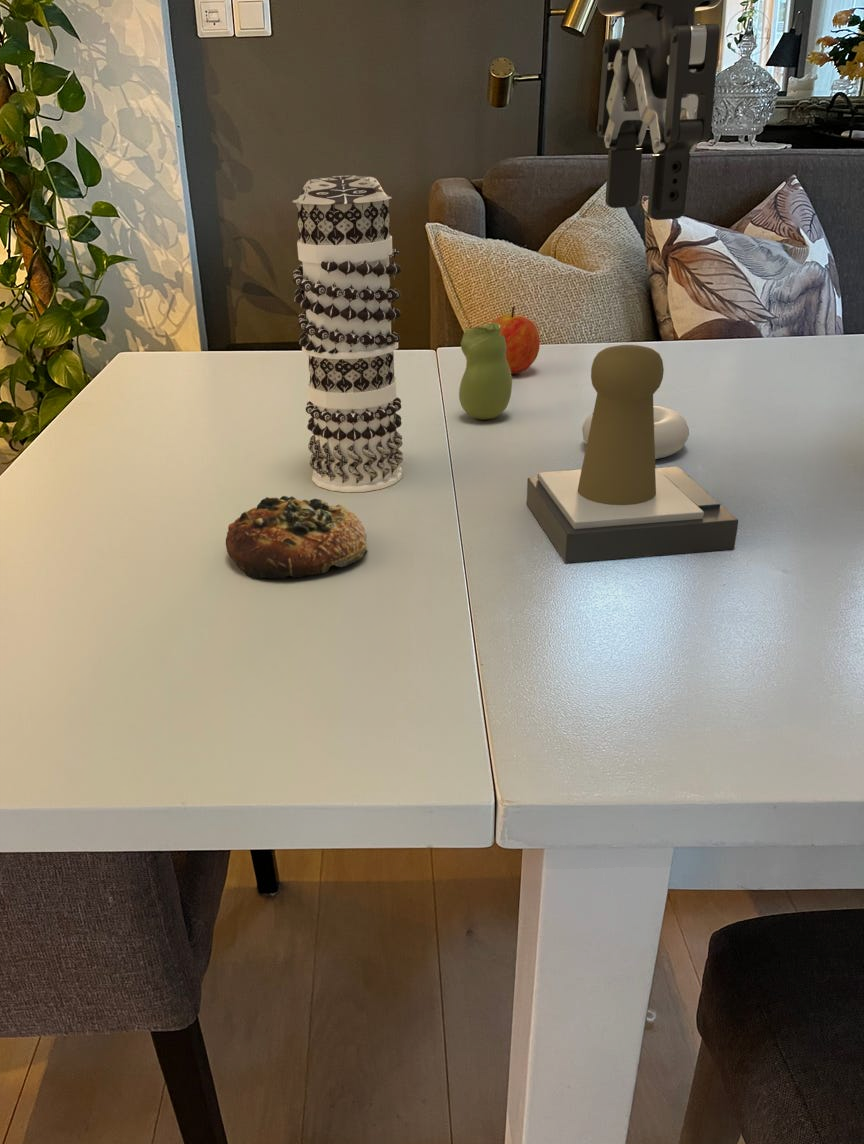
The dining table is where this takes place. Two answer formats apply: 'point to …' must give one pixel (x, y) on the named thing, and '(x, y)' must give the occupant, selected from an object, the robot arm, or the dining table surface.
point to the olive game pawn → (622, 427)
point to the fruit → (519, 341)
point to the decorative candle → (349, 332)
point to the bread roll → (294, 538)
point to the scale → (630, 519)
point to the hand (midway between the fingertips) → (641, 212)
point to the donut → (660, 431)
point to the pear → (485, 372)
